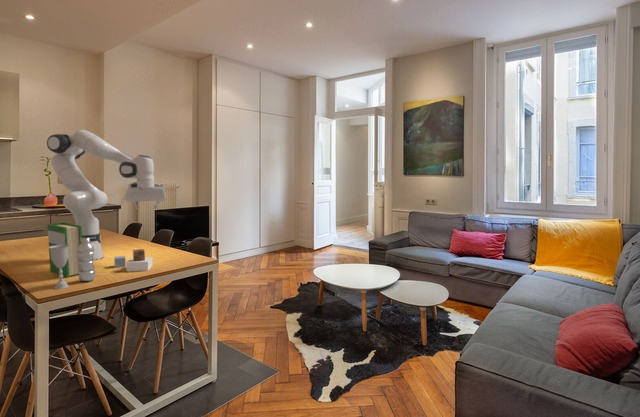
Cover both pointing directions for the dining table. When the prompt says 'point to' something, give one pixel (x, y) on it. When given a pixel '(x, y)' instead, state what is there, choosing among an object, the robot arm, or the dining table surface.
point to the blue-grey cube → (119, 261)
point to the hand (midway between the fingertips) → (146, 209)
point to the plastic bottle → (86, 260)
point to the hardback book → (65, 236)
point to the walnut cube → (139, 255)
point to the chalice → (60, 262)
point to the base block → (139, 265)
